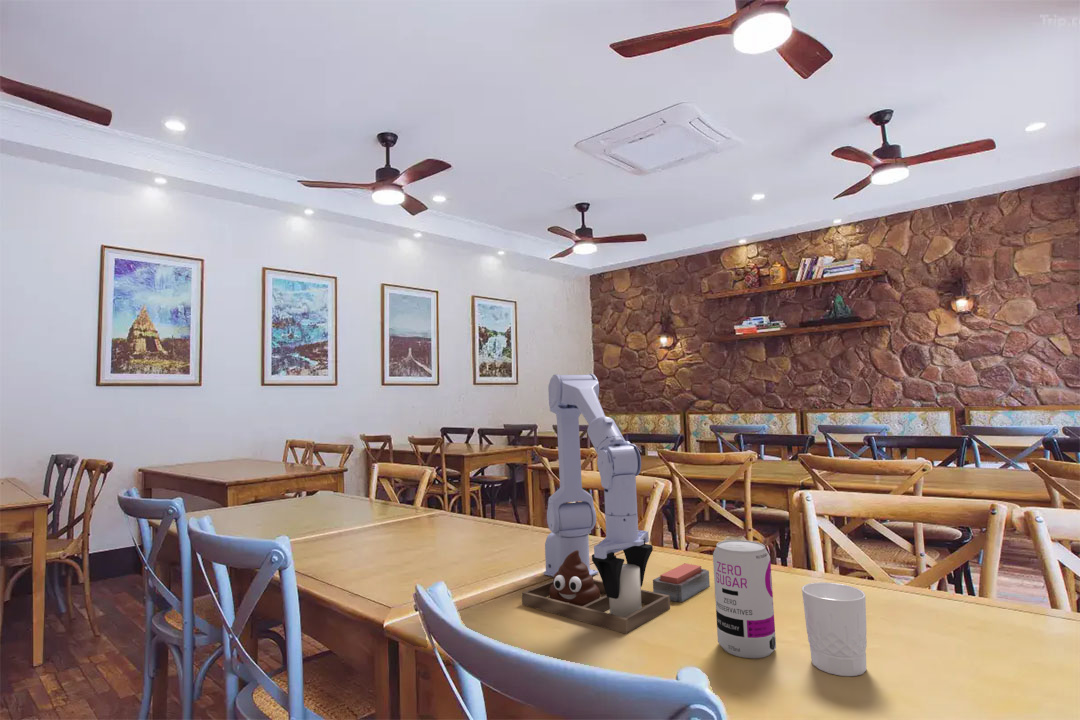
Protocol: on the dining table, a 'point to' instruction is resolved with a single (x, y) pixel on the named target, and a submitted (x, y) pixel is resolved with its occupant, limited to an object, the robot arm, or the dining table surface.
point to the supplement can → (744, 598)
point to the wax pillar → (627, 592)
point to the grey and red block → (683, 586)
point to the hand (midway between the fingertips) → (624, 591)
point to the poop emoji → (574, 582)
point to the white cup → (836, 627)
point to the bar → (680, 573)
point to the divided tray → (598, 608)
